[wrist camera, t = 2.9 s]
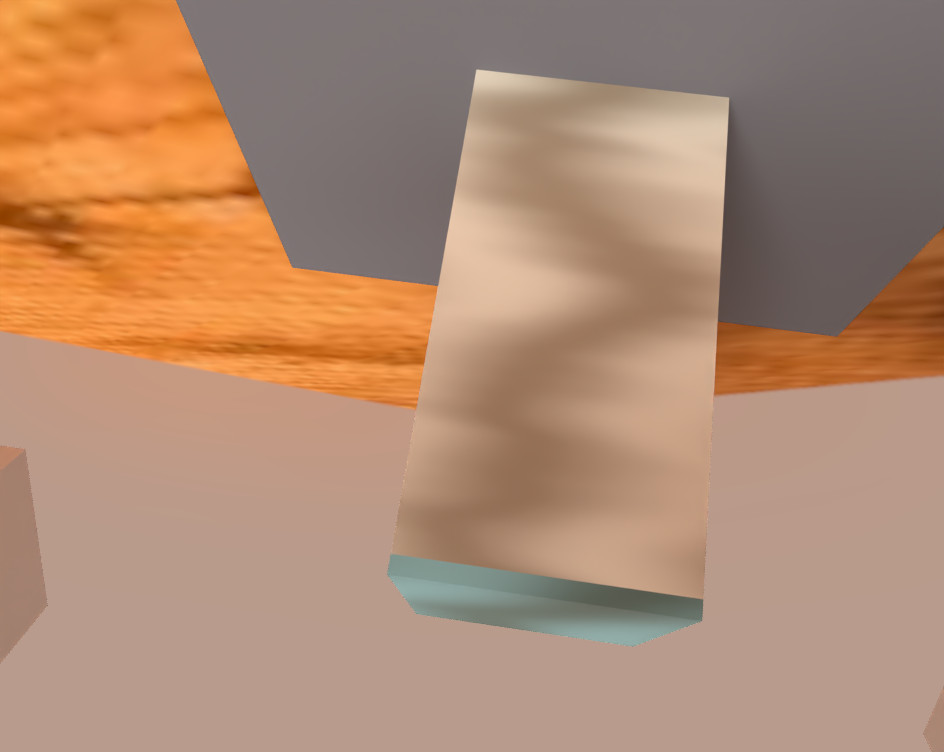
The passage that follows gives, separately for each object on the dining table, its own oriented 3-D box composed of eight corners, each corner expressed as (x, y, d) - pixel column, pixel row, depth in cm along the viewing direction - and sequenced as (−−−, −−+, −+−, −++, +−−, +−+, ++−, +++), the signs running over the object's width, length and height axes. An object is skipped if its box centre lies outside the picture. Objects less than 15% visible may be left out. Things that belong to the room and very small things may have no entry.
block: (729, 98, 20) (702, 620, 16) (663, 259, 28) (632, 646, 24) (476, 69, 21) (387, 574, 17) (478, 236, 28) (416, 613, 24)
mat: (1201, -60, 16) (1204, -42, 15) (837, 326, 31) (836, 336, 31) (116, -165, 17) (110, -150, 17) (294, 258, 33) (292, 267, 32)
